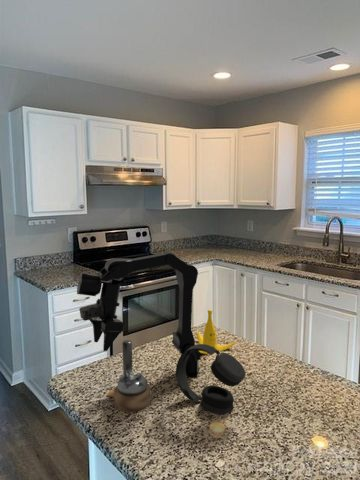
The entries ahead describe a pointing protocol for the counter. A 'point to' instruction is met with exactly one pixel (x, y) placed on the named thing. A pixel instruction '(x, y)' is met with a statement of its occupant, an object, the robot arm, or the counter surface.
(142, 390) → the lugged disk with column
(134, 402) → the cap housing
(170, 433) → the counter surface
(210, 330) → the banana peel
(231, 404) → the headphones
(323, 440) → the counter surface
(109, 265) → the robot arm
